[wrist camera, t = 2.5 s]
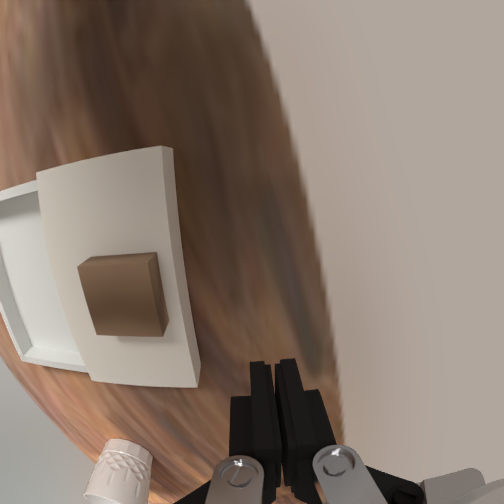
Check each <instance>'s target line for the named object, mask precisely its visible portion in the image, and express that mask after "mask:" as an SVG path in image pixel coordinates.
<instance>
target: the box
mask: <svg viewBox="0 0 504 504" xmlns="http://www.w3.org/2000/svg"><path fill="white" fill-rule="evenodd" d="M0 312H1V314H2V317H3V319H4V322H5V325H6V327H7V329H8V332H9V334H10V337H11V339H12V341H13V343H14V346H15V348H16V350H17V352H18V354H19V356H20V358H21V360H22V361H24V362H29V363H34V364H38V365H43V366H49V367H54V368H60V369H66V370H72V371H79V372H87V373H88V371H87V369H86V367H85V364H84V362H83V360H82V357H81V355H80V353H79V350H78V348H77V345H76V343H75V340H74V338H73V335H72V332H71V330H70V327H69V324H68V321H67V318H66V315H65V312H64V309H63V306H62V303H61V300H60V297H59V293H58V290H57V286H56V283H55V279H54V275H53V271H52V267H51V263H50V259H49V255H48V250H47V245H46V240H45V235H44V230H43V224H42V218H41V211H40V204H39V196H38V188H37V180H35V181H31V182H28V183H24V184H21V185H18V186H15V187H12V188H8V189H5V190H2V191H0Z"/></svg>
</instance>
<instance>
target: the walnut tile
mask: <svg viewBox="0 0 504 504" xmlns="http://www.w3.org/2000/svg"><path fill="white" fill-rule="evenodd" d="M77 269H78V273H79V277H80V281H81V285H82V289H83V292H84V296H85V300H86V303H87V306H88V310H89V313H90V316H91V319H92V322H93V326H94V329H95V331H96V334H97V335H105V336H134V337H163V336H164V333H165V331H166V328H167V326H168V323H169V317H168V312H167V307H166V302H165V297H164V291H163V286H162V280H161V275H160V269H159V263H158V256H157V252H149V253H135V254H121V255H107V256H93V257H90V258H88V259H87V260H85V261H84V262H83V263H81V264H80V265H79V266H77Z"/></svg>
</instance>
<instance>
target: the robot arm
mask: <svg viewBox="0 0 504 504" xmlns="http://www.w3.org/2000/svg"><path fill="white" fill-rule="evenodd" d="M250 380H251V396H235V397H231V406H230V439H229V457H227V458H225V459H223V460H222V461H220V462H219V463H218V464H217V465H216V467H215V469H214V472H213V476H212V479H211V480H209V481H208V482H207V483H205V484H204V485H202V486H201V487H199V488H198V489H196V490H195V491H193V492H191V493H190V494H188V495H187V496H185V497H183V498H182V499H180V500H179V501H177V502H175V503H174V504H271V503H272V502H274V501H275V500H276V487H280V484H281V463H282V469H283V476H284V483H285V486H291V492H292V493H293V492H294V494H295V498H297V499H299V500H301V501H303V502H304V504H504V479H500V480H497V481H494V482H490V483H488V484H485V481H484V478H483V475H482V474H481V472H480V471H479V470H477V469H474V468H468V469H464V470H461V471H458V472H454V473H450V474H447V475H443V476H439V477H435V478H430V479H426V480H423V481H422V482H420V483H414V482H411V481H408V480H405V479H402V478H399V477H396V476H393V475H390V474H387V473H384V472H381V471H379V470H376V469H373V468H371V467H368V466H366V465H364V463H363V462H362V460H361V458H360V456H359V455H358V454H357V452H356V451H355V450H353V449H352V448H350V447H348V446H344V445H337V444H336V441H335V438H334V434H333V431H332V428H331V425H330V422H329V419H328V416H327V413H326V410H325V407H324V403H323V400H322V397H321V394H320V392H319V390H318V389H315V390H308V391H304V389H303V386H302V382H301V378H300V374H299V371H298V367H297V363H296V360H295V358H293V359H282V360H280V364H275V393H274V386H273V379H272V372H271V365H270V364H268V365H265V363H264V361H257V362H250Z"/></svg>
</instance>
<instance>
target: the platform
mask: <svg viewBox="0 0 504 504" xmlns="http://www.w3.org/2000/svg"><path fill="white" fill-rule="evenodd" d="M36 177H37V188H38V196H39V204H40V211H41V218H42V224H43V230H44V235H45V240H46V245H47V250H48V255H49V259H50V263H51V267H52V271H53V275H54V279H55V283H56V286H57V290H58V293H59V297H60V300H61V303H62V306H63V309H64V312H65V315H66V318H67V321H68V324H69V327H70V330H71V332H72V335H73V338H74V340H75V343H76V345H77V348H78V350H79V353H80V355H81V357H82V360H83V362H84V364H85V367H86V369H87V371H88V373H89V376H90V378H91V380H92V381H99V382H107V383H116V384H126V385H139V386H155V387H185V388H198V382H199V376H200V369H201V361H200V356H199V351H198V346H197V341H196V335H195V330H194V324H193V318H192V312H191V306H190V300H189V293H188V287H187V280H186V273H185V266H184V258H183V251H182V243H181V234H180V225H179V216H178V206H177V196H176V184H175V172H174V158H173V148H170V147H166V146H155V147H148V148H142V149H136V150H130V151H125V152H119V153H114V154H109V155H104V156H99V157H95V158H90V159H86V160H82V161H77V162H73V163H69V164H65V165H62V166H58V167H54V168H50V169H47V170H43V171H40V172H37V173H36ZM149 252H157V256H158V263H159V269H160V275H161V280H162V286H163V291H164V297H165V302H166V307H167V312H168V317H169V323H168V326H167V328H166V331H165V333H164V336H163V337H134V336H105V335H97V334H96V331H95V329H94V326H93V322H92V319H91V316H90V313H89V310H88V306H87V303H86V300H85V296H84V292H83V289H82V285H81V281H80V277H79V273H78V269H77V266H79V265H80V264H81V263H83V262H84V261H85V260H87V259H88V258H90V257H93V256H107V255H121V254H135V253H149Z"/></svg>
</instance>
